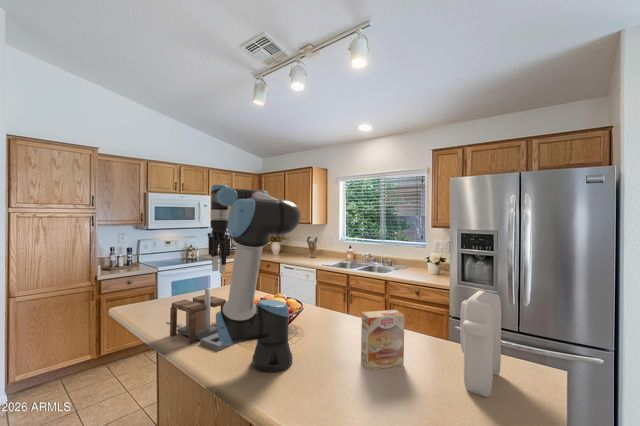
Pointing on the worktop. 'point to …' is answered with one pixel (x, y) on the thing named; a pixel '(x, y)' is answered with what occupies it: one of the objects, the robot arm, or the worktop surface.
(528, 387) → the worktop surface
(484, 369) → the white upright slab
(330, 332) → the worktop surface
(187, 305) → the wooden rack
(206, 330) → the white lever handle
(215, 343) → the pit plate
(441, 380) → the worktop surface
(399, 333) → the coffeecake box
